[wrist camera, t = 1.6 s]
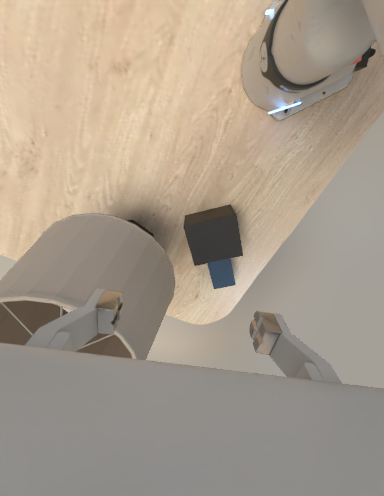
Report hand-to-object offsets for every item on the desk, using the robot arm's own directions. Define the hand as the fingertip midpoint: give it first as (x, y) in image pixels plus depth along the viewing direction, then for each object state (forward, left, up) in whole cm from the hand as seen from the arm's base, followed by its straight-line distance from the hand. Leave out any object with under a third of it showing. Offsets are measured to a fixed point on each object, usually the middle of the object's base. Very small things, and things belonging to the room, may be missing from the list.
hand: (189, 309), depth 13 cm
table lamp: (+20, +10, -45) cm, 51 cm away
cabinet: (-2, +13, -45) cm, 47 cm away
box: (-2, +25, -45) cm, 52 cm away
